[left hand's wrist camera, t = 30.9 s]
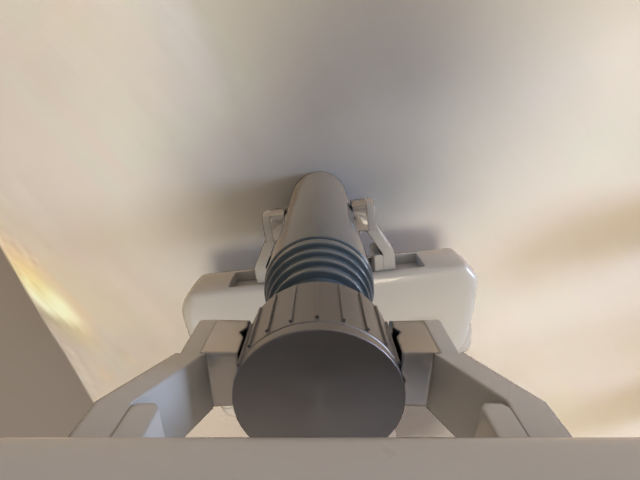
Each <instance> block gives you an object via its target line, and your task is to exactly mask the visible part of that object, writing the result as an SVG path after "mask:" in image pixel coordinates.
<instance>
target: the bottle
mask: <svg viewBox="0 0 640 480" xmlns="http://www.w3.org/2000/svg"><path fill="white" fill-rule="evenodd" d="M316 281H319V282H330V283H336V284H342V285H343V286H347V287H349V288H351V289H353V290H356V291H357V292H361V293H362V295H364V296H365V297H366V298H368V299H369V300H370V301H371V302H373V298H374V279H373V273H372V270H371V267H370V264H369V261H368V258H367V255H366V252H365V249H364V246H363V243H362V240H361V237H360V234H359V231H358V228H357V225H356V222H355V219H354V216H353V213H352V210H351V207H350V204H349V201H348V198H347V195H346V192H345V189H344V187H343V185H342V183H341V182H340V181H339V180H338V179H337V178H336V177H335V176H333V175H331V174H329V173H325V172H313V173H310V174H308V175H306V176H304V177H303V178H302V179H300V181H299V182H298V183H297V185H296V186H295V188H294V191H293V194H292V197H291V200H290V203H289V206H288V209H287V212H286V215H285V218H284V221H283V224H282V227H281V230H280V233H279V235H278V238H277V241H276V244H275V247H274V250H273V253H272V256H271V259H270V262H269V265H268V268H267V271H266V274H265V280H264V296H265V302H267V301H268V300H269V299H270V298H272V297H273V296H274V294H277V293H279V292H281V291H282V290H284V289H287V288H289V287H291V286H294V285H298V284H302V283H308V282H316Z"/></svg>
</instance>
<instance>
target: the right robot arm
mask: <svg viewBox="0 0 640 480" xmlns="http://www.w3.org/2000/svg"><path fill="white" fill-rule="evenodd" d="M350 207H351V210H352V213H353V216H354V219H355V222H356V225H357V228H358V231H367V233H368V234H369V235H370V237H371V238H372V240H373V241H374V242H375V243H374V244H371V245H370V256H369V257H367V258H368V261H369V264H370V267H371V270H372V273H373V279H374V298H373V302H372V303H373V304H374V305H377V306H378V309H379V312H380V313H381V315H382V317H383V319H384V321H385V322H386V321H387V323H388V324H389V321H414V320H439V321H441V323H442V325H443V326H444V328H445V330H446V331H447V333H448V335H449V337H450V338H451V340H452V342H453V343H454V345H455V347H456V348H457V350H458V352H459V353H464V352H466V351H467V350H468V349H469V347H470V344H471V323H470V321H471V317H472V313H473V308H474V302H475V296H476V288H477V277H476V273H475V272H474V270H473V269H472V267H471V266H470V265H469V264H468V262H467V261H466V260H465V259H464V258H462V257H461V256H460V255H459V254H458V253H456V252H455V251H454V250H452V249H450V248H443V249H433V250H424V251H415V252H406V253H396V254H395V252H394V250H393V249H392V247H391V245H390V243H389V241H388V240H387V238H386V237H385V236H384V234H383V233H382V231H381V230H380V229H379V227H378V226H377V225H376V215H375V205H374V201H373V200H372V198H366V199H357V200H350ZM286 212H287V209H286V208H281V209H270V210H265V211H264V212H263V214H262V222H263V228H264V233H265V239H266V240H265V242H264V244H263V247H262V249H261V252H260V255H259V257H258V260H257V262H256V265H255V267H254V269H249V270H239V271H230V272H221V273H211V274H205V275H203V276H201V277H200V278H199V279H198V281H197V282H196V283H195V284H194V285H193V287H192V288H191V290H190V291H189V293H188V294H187V296H186V298H185V300H184V303H183V307H182V311H183V316H184V320H185V324H186V327H187V330H188V333H189V335H190V336H191V335H192V333H193V331H194V329H195V328H196V326H197V324H198V323H199V321H201V320H250V322H251V324H252V323H253V321H254V319H255V317H256V315H257V312H258V309H259V308H260V307H262V306H263V305H264V304H265V303H266V302H265V296H264V280H265V274H266V271H267V268H268V265H269V262H270V259H271V256H272V255H271V252H272V250H273V247H274V245H275V242H276V241H277V238H278V235H279V233H280V230H281V227H282V224H283V221H284V218H285V215H286ZM270 255H271V256H270ZM222 409H223V411H224V412H225V413H226V414H227V415H229V416H232V417H236V415H235V412H234V408H233V406H222ZM388 437H397V435H396V431H395V429H394V431H393V432H392V433H391V434H390V435H389V436H388Z"/></svg>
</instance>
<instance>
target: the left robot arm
mask: <svg viewBox="0 0 640 480" xmlns="http://www.w3.org/2000/svg"><path fill="white" fill-rule="evenodd" d="M250 323H251V322H250V320H201V321H199V323H198V324H197V326H196V328H195V329H194V331H193V333H192V335H191V336H190V338H189V340H188V342H187V343H186V345H185V347H184V348H183V350H182V352H181V353H175V354H174V355H172V356H170V357H169V358H167V359H165V360H164V361H162V362H160V363H159V364H157V365H155V366H154V367H152V368H150V369H149V370H147V371H145V372H144V373H142V374H140V375H139V376H137V377H135V378H134V379H132V380H130V381H129V382H127V383H125V384H124V385H122V386H120V387H119V388H117V389H115V390H114V391H112V392H110V393H109V394H107V395H106V396H104V397H102V398H101V399H99V400H97V401H96V402H95V403H94V404H93V405H92V406H91V408H90V409H89V410H88V412H87V413H86V414H85V415H84V417H83V418H82V419H81V421H80V422H79V423H78V424H77V426H76V427H75V428H74V429H73V431H72V432H71V433H70V435H69V436H68V437H66V438H65V437H60V438H58V437H49V438H48V437H37V438H36V437H22V438H21V437H2V438H1V437H0V480H640V437H572V436H571V435H570V433H569V432H568V431H567V429H566V428H565V427H564V426H563V424H562V423H561V422H560V420H559V419H558V418H557V416H556V415H555V414H554V413H553V411H552V410H551V409H550V407H549V406H548V405H547V404H546V402H544V401H543V400H541V399H539V398H538V397H536V396H534V395H533V394H531V393H529V392H528V391H526V390H524V389H523V388H521V387H519V386H518V385H516V384H514V383H513V382H511V381H509V380H508V379H506V378H504V377H503V376H501V375H499V374H498V373H496V372H494V371H493V370H491V369H489V368H488V367H486V366H484V365H483V364H481V363H480V362H478V361H476V360H475V359H473V358H471V357H470V356H468V355H466V354H465V353H459V352H458V350H457V348H456V347H455V345H454V343H453V342H452V340H451V338H450V337H449V335H448V333H447V331H446V330H445V328H444V326H443V325H442V323H441V321H439V320H414V321H389V324H388V326H389V329H390V332H391V335H392V338H393V341H394V345H395V348H396V351H397V354H398V357H399V360H400V364H398V365H399V368H400V371H401V373H402V376H403V379H404V384H405V391H406V399H405V406H427V408H428V409H429V410H430V411H431V413H432V414H433V415H434V416H435V417H436V418H437V419H438V420H439V421H440V422H441V423H442V424H443V425H444V426H445V427H446V428H447V429H448V430H449V431H450V432H451V433H452V434H453V435H454V436H455V437H456V438H430V437H347V438H184V437H185V436H186V435H187V434H188V433H189V432H190V431H191V430H192V429H193V428H194V427H195V426H196V425H197V424H198V423H199V422H200V421H201V420H202V419H203V418H204V417H205V416H206V415H207V414H208V413H209V412H210V411H211V410H212V409H213V406H233V403H232V388H233V383H234V379H235V376H236V373H237V370H238V367H239V366H236V365H237V362H238V359H239V356H240V353H241V350H242V347H243V344H244V341H245V338H246V335H247V332H248V329H249V326H250Z"/></svg>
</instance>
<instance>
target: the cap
mask: <svg viewBox="0 0 640 480" xmlns="http://www.w3.org/2000/svg"><path fill="white" fill-rule="evenodd" d="M398 364H400V360H399V357H398V354H397V351H396V348H395V345H394V341H393V338H392V335H391V332H390V329H389V326H388V323H387V321H386V322H385V321H384V319H383V317H382V315H381V313H380V312H379V309H378V306H377V305H374V304H373V303H372V302H371V301H370V300H369V299H368V298H366V297H365V296H364V295H362V293H361V292H357V291H356V290H353V289H351V288H349V287H347V286H343V285H342V284H336V283H330V282H319V281H316V282H308V283H302V284H298V285H294V286H291V287H289V288H287V289H284V290H282V291H281V292H279V293H277V294H274V296H273V297H272V298H270V299H269V300H268V301H267V302H266V303H265V304H264V305H263V306H262V307H260V308H259V309H258V312H257V315H256V317H255V319H254V321H253V323H252V324H251V323H250V326H249V329H248V332H247V335H246V338H245V341H244V344H243V347H242V350H241V353H240V356H239V359H238V362H237V365H236V366H239V367H238V370H237V373H236V376H235V379H234V383H233V388H232V403H233V408H234V412H235V415H236V418H237V420H238V422H239V423H240V425H241V427H242V428H243V430H244V431H245V432H246V434H247V435H248V436H249V437H250V438H347V437H388V436H389V435H390V434H391V433H392V432H393V431H394V429H395V428H396V426H397V425H398V423H399V421H400V419H401V417H402V414H403V411H404V406H405V399H406V391H405V384H404V379H403V376H402V373H401V371H400V368H399V365H398Z"/></svg>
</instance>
